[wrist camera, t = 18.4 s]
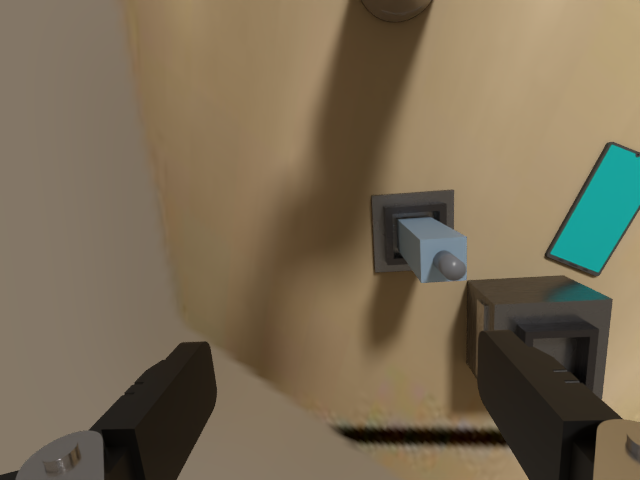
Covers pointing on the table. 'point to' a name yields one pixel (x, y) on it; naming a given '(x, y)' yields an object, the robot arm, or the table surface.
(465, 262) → the plug
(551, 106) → the table surface
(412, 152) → the table surface
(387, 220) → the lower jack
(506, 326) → the box with square opening
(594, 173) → the smartphone
